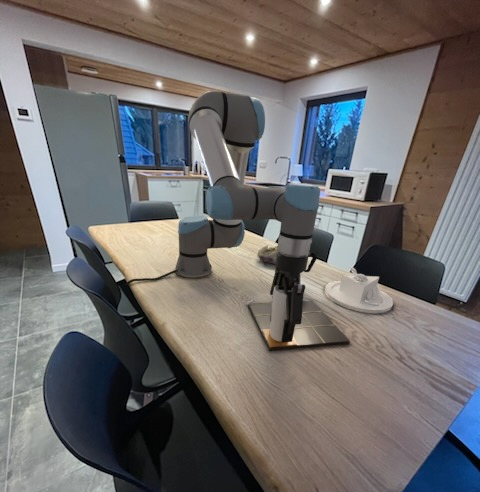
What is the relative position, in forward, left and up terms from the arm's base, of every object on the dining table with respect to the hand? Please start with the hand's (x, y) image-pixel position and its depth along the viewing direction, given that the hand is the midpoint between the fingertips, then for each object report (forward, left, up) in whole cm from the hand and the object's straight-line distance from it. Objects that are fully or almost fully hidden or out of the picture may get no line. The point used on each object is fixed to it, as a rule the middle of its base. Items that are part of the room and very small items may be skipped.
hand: (280, 330), depth 73 cm
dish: (+41, +23, -4) cm, 47 cm away
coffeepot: (+17, +32, -4) cm, 36 cm away
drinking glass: (0, 0, -2) cm, 2 cm away
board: (+8, +8, -3) cm, 12 cm away
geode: (+19, +64, -4) cm, 67 cm away
